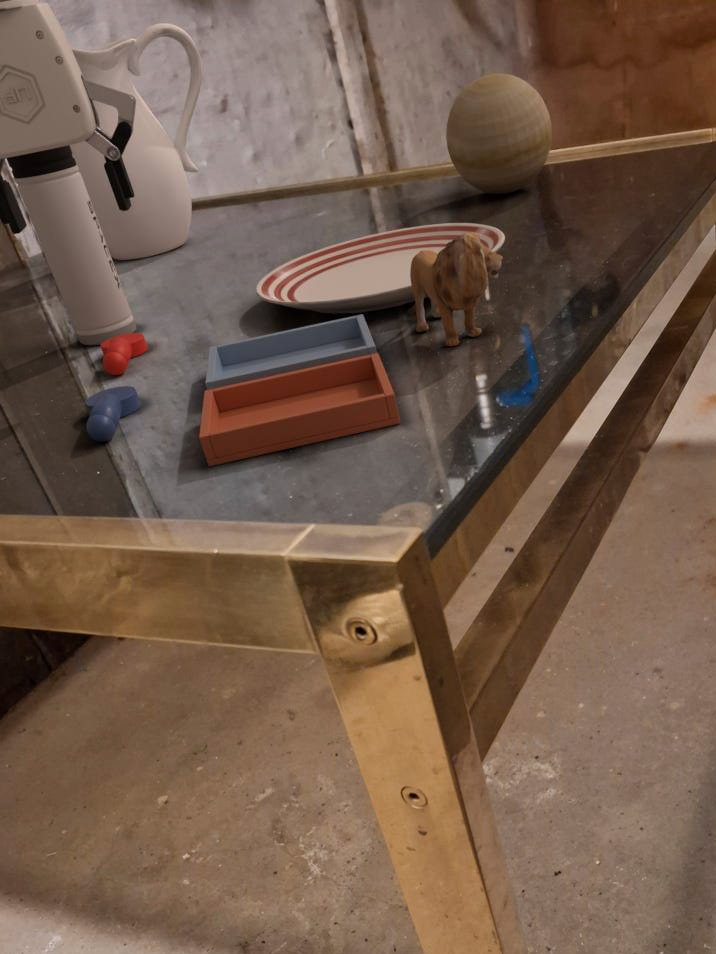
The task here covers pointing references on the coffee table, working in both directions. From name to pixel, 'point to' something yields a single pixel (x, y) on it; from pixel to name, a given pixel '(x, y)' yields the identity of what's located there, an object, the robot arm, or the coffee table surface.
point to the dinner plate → (363, 269)
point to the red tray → (296, 409)
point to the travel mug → (73, 243)
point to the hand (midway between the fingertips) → (73, 219)
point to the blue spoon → (110, 410)
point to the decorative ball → (499, 133)
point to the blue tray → (288, 351)
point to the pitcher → (140, 153)
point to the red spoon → (122, 351)
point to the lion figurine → (453, 282)
